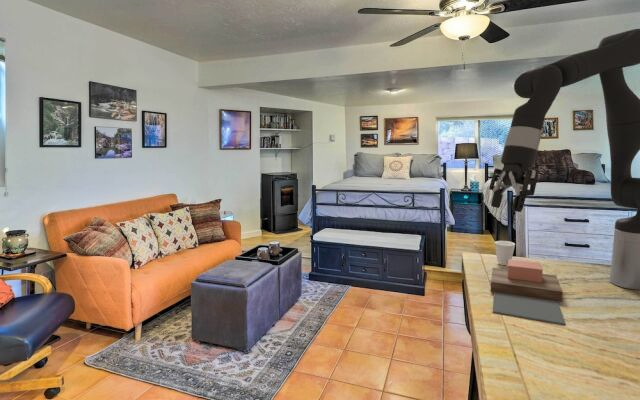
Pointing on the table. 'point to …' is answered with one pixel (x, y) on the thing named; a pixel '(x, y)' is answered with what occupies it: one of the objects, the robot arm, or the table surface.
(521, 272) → the block
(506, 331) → the table surface
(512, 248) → the cup
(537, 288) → the platform
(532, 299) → the mat
